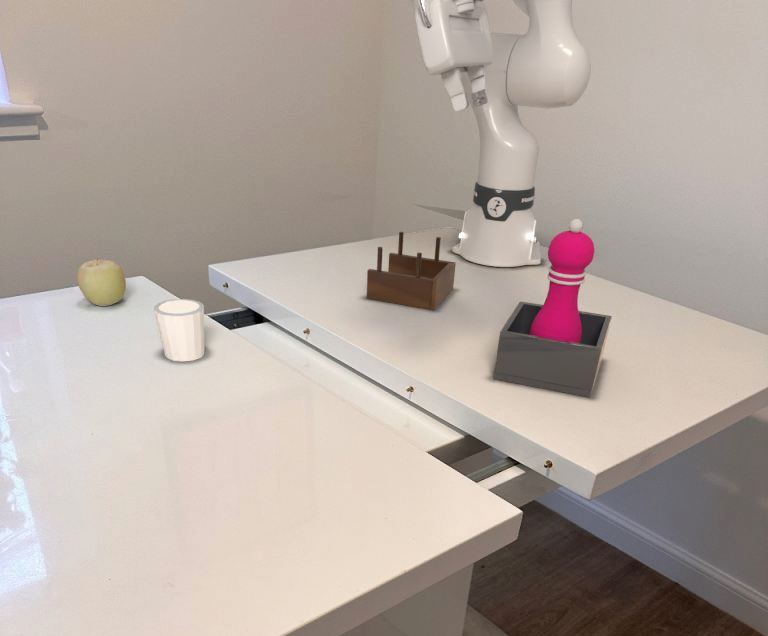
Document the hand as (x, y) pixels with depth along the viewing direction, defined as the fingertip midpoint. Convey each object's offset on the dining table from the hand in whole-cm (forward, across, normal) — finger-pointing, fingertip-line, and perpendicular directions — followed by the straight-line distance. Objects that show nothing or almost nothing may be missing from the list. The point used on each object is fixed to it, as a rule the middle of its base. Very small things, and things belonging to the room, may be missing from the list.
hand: (472, 107), depth 97 cm
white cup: (+18, -26, +42) cm, 52 cm away
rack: (+24, +14, +23) cm, 36 cm away
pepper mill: (+35, -7, -4) cm, 36 cm away
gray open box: (+36, -6, -4) cm, 37 cm away
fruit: (+8, -15, +63) cm, 66 cm away
